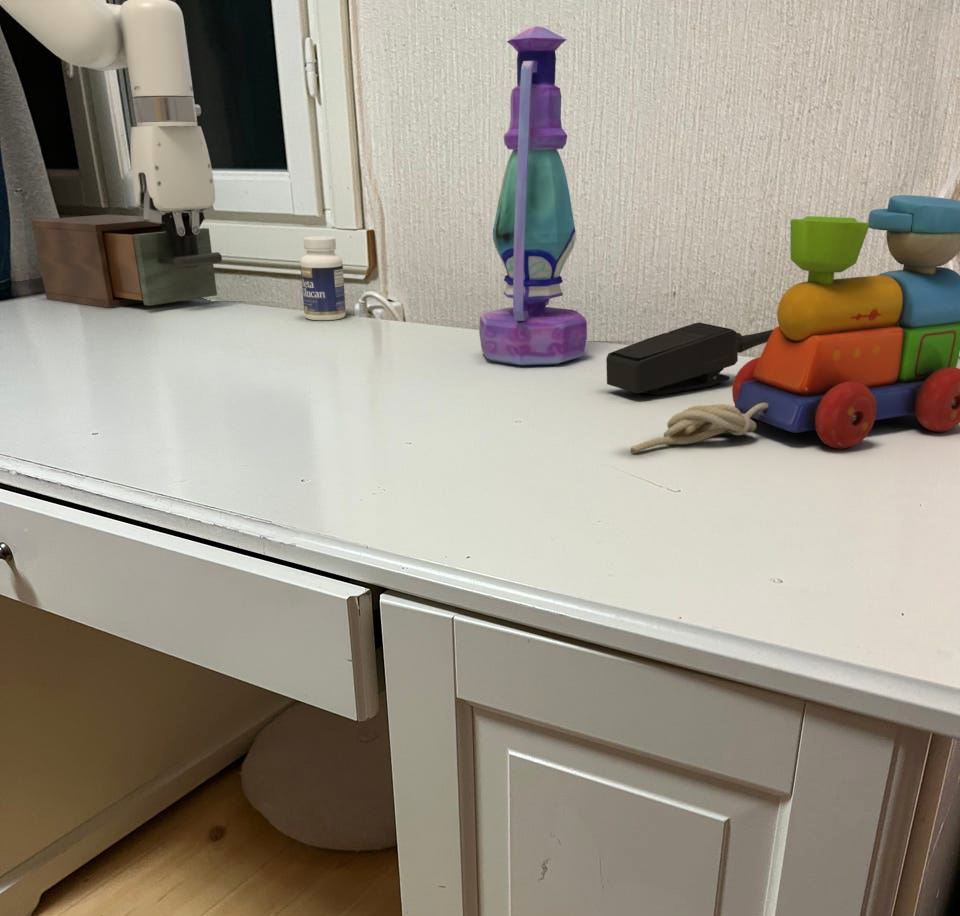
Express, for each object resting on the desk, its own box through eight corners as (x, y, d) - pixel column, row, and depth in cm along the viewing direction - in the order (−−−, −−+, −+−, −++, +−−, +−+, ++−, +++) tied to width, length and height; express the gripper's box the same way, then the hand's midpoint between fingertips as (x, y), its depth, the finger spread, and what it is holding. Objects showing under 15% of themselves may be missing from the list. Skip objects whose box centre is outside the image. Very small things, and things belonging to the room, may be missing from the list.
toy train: (593, 436, 77) (604, 203, 69) (872, 396, 88) (908, 191, 80) (686, 480, 67) (710, 214, 60) (987, 429, 78) (1040, 198, 70)
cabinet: (184, 296, 147) (173, 218, 142) (109, 308, 138) (94, 224, 133) (120, 288, 155) (108, 214, 150) (46, 298, 146) (30, 220, 141)
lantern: (495, 343, 112) (494, 34, 98) (596, 348, 109) (610, 30, 95) (461, 367, 100) (456, 21, 87) (574, 372, 98) (586, 16, 84)
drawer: (239, 298, 139) (232, 229, 135) (171, 308, 130) (161, 236, 126) (154, 287, 149) (145, 224, 145) (86, 296, 141) (74, 229, 137)
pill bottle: (297, 320, 127) (290, 238, 123) (315, 313, 132) (309, 235, 127) (335, 321, 126) (329, 239, 121) (352, 315, 131) (347, 235, 126)
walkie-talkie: (590, 365, 91) (749, 322, 99) (621, 421, 90) (779, 373, 98) (619, 323, 85) (784, 282, 94) (653, 383, 84) (817, 336, 92)
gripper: (194, 115, 133) (213, 259, 142) (97, 114, 123) (123, 270, 131) (230, 113, 129) (248, 262, 138) (133, 113, 119) (158, 274, 127)
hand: (187, 266), depth 134 cm, fingers closed
